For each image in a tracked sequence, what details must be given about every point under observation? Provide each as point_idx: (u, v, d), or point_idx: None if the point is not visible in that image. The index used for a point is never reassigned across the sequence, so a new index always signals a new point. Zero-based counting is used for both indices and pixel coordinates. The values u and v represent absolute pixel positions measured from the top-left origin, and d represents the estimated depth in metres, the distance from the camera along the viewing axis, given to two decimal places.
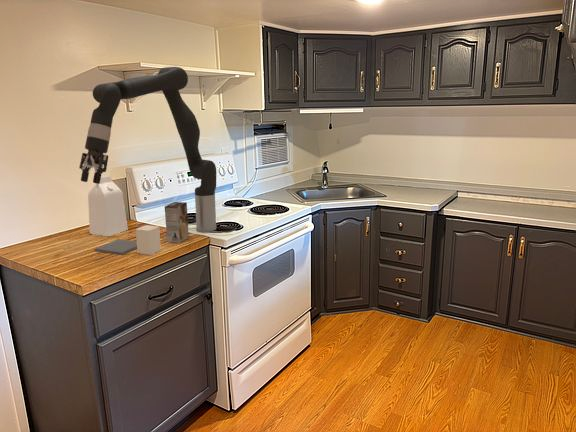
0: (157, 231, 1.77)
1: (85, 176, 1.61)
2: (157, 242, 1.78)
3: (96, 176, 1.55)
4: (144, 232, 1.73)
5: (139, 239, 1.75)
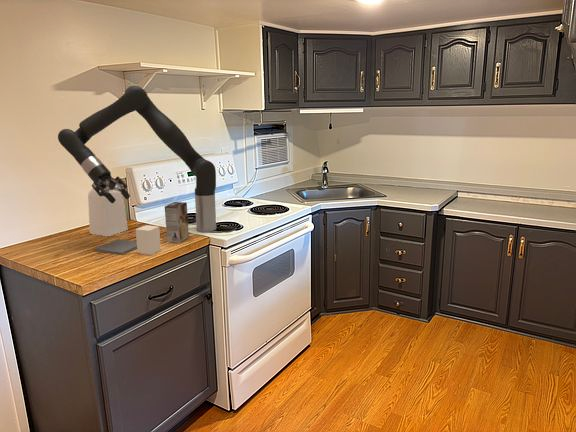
0: (157, 231, 1.77)
1: (125, 194, 1.81)
2: (157, 242, 1.78)
3: None
4: (144, 232, 1.73)
5: (139, 239, 1.75)
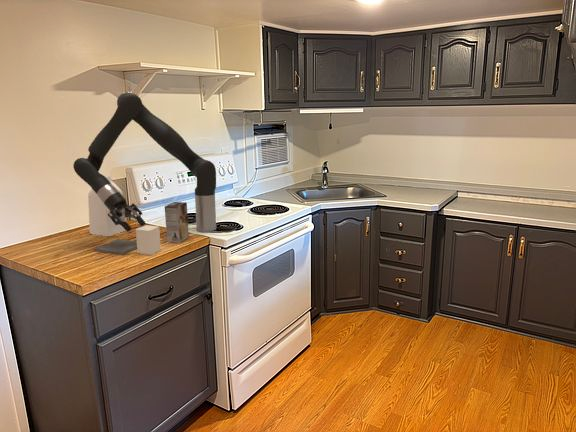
0: (157, 231, 1.77)
1: (140, 221, 1.81)
2: (157, 242, 1.78)
3: None
4: (144, 232, 1.73)
5: (139, 239, 1.75)
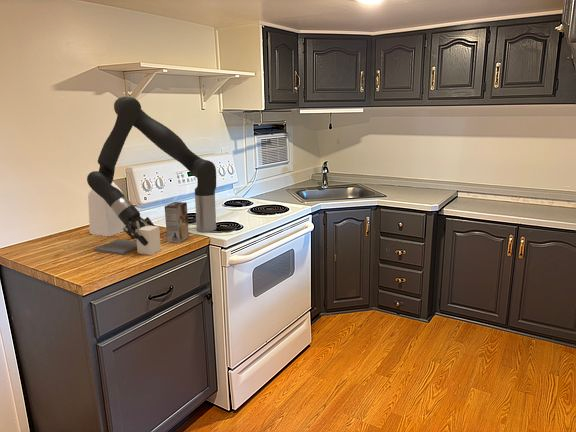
0: (157, 231, 1.77)
1: None
2: (157, 242, 1.78)
3: None
4: (144, 232, 1.73)
5: None
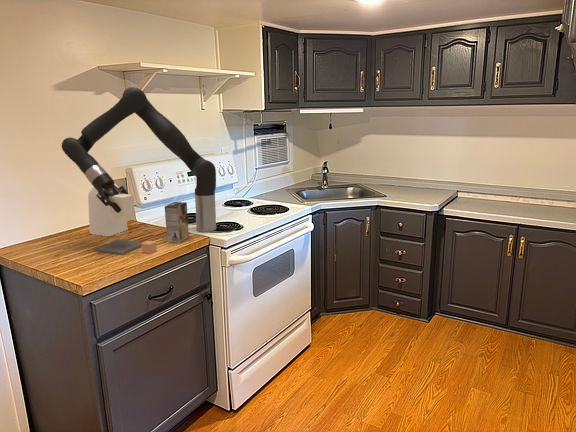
0: (131, 199, 1.77)
1: None
2: (131, 210, 1.78)
3: None
4: (117, 199, 1.73)
5: None
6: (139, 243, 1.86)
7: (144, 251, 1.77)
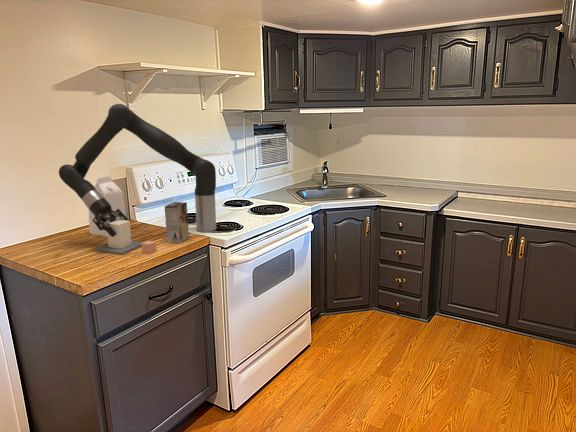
0: (128, 225, 1.82)
1: None
2: (128, 236, 1.82)
3: None
4: (114, 226, 1.77)
5: None
6: (139, 243, 1.86)
7: (144, 251, 1.77)
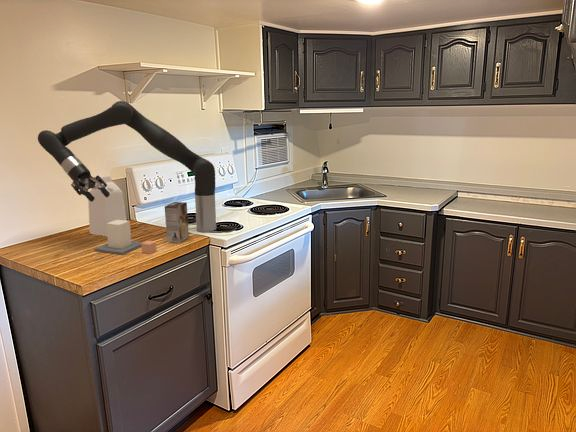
0: (128, 225, 1.82)
1: (105, 192, 1.86)
2: (128, 236, 1.82)
3: None
4: (114, 226, 1.77)
5: (110, 233, 1.79)
6: (139, 243, 1.86)
7: (144, 251, 1.77)
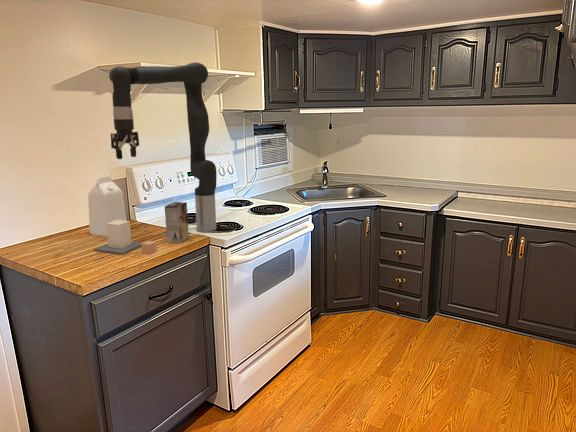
0: (128, 225, 1.82)
1: (132, 152, 1.87)
2: (128, 236, 1.82)
3: None
4: (114, 226, 1.77)
5: (110, 233, 1.79)
6: (139, 243, 1.86)
7: (144, 251, 1.77)
